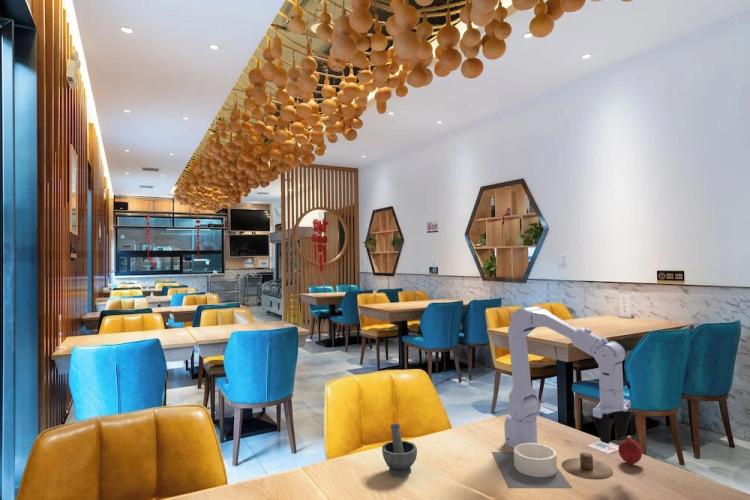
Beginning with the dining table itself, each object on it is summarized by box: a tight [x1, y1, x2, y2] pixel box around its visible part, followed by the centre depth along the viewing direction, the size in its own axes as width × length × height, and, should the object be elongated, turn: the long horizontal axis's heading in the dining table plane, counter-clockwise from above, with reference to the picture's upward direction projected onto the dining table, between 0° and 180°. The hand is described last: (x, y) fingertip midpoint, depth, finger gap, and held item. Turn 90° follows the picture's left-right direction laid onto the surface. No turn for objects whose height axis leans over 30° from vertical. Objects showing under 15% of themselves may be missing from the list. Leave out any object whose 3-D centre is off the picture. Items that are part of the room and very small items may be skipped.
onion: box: [618, 435, 643, 466], centre depth 127 cm, size 6×6×8 cm
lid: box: [561, 452, 614, 480], centre depth 125 cm, size 13×13×4 cm
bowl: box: [513, 442, 558, 478], centre depth 126 cm, size 11×11×5 cm
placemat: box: [491, 451, 573, 489], centre depth 126 cm, size 16×22×1 cm
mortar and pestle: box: [381, 423, 418, 478], centre depth 127 cm, size 11×9×12 cm
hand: (613, 439), depth 121 cm, fingers open, 7 cm apart
